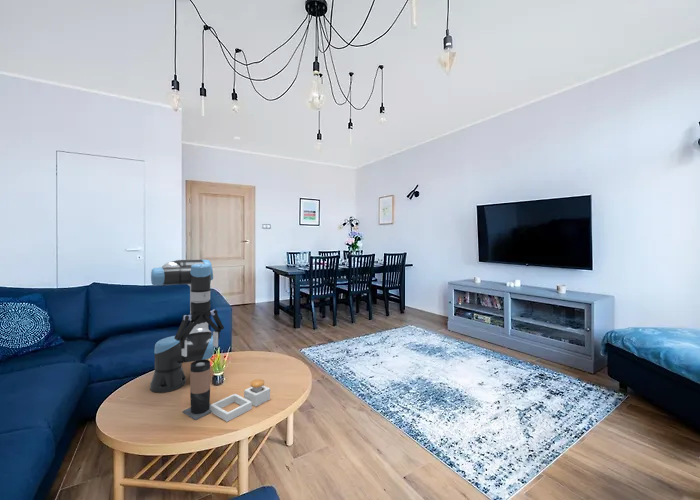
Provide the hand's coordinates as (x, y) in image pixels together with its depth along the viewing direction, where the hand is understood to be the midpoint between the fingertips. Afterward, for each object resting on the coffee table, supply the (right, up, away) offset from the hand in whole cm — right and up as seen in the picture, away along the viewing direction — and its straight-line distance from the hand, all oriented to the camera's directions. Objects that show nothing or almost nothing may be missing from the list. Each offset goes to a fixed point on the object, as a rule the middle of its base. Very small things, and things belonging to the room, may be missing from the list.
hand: (200, 351), depth 131 cm
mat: (0, -26, +1) cm, 26 cm away
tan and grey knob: (+21, -25, +10) cm, 34 cm away
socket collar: (+12, -26, +2) cm, 29 cm away
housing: (+21, -26, +10) cm, 35 cm away
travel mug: (0, -25, +1) cm, 25 cm away
